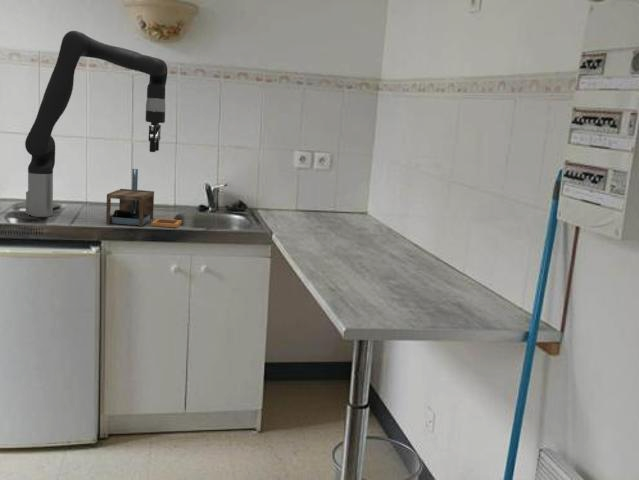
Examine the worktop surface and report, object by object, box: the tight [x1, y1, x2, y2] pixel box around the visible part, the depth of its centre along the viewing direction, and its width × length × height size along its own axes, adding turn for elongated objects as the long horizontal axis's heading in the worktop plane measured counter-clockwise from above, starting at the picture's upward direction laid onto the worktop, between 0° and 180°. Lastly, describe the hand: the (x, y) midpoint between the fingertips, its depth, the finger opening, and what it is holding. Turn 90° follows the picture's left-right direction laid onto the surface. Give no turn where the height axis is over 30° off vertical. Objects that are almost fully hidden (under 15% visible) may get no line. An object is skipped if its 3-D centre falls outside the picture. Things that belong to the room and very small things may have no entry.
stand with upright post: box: [110, 168, 151, 226], centre depth 272 cm, size 14×16×21 cm
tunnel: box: [105, 188, 155, 228], centre depth 272 cm, size 14×20×12 cm
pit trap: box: [151, 218, 183, 229], centre depth 273 cm, size 10×11×2 cm
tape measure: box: [113, 209, 133, 218], centre depth 272 cm, size 7×7×4 cm
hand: (154, 151), depth 268 cm, fingers open, 8 cm apart
